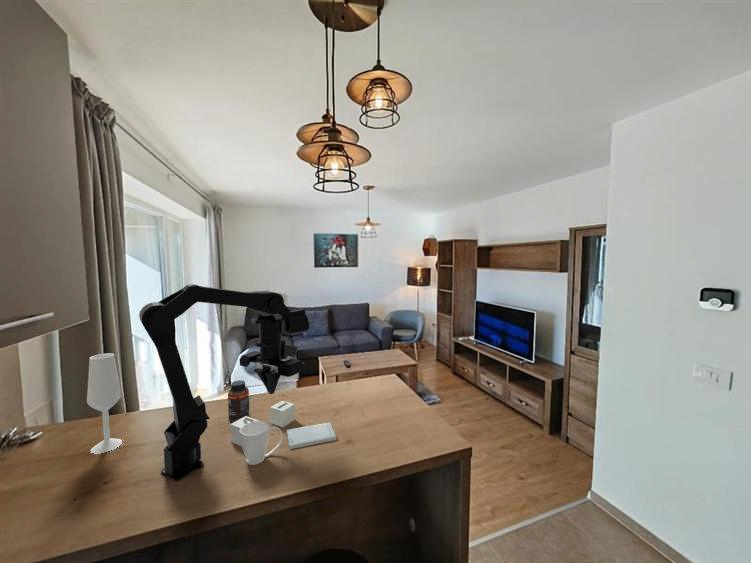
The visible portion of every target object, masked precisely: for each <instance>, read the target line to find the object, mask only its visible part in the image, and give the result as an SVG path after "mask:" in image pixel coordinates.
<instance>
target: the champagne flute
mask: <svg viewBox="0 0 751 563" xmlns="http://www.w3.org/2000/svg"><path fill="white" fill-rule="evenodd" d="M88 362H89V363H88V379H87V394H86V403H87V405H88V406H89V407H91V408H92V409H94V410H96V411H99V412H102V427H103V428H102V429H103V440H102V441H100V442H99V443H97V444H96V445H94V446H92V448H91V449H90V451H91V452H90V454H92V453H94V454H93V455H100V454H101V453H103V454H105V453H104V452H107V453H109V452H108V451H110V452H112V451H115V450H117V449H118V448H120V447H121V446H122V445H123V444H122V440H123V439H122V438H115V437H114V438H112V437H111V435H110V434H111V433H110V430H111V429H110V417H109V416H110V414H109V410H110V409H111V408H113V407H114V406H115V405H116V404H117V403H118V402H119V400H120V399H121V397H122V391H121V385H120V380H119V375H118V369H117V364H116V363H117V362H116V357H115V353H111V352H108V353H100V354H95V355H92V356H90V357H89V361H88ZM121 439H122V440H121ZM121 444H122V445H121ZM120 445H121V446H120ZM119 446H120V447H119ZM117 447H118V448H117ZM116 448H117V449H116ZM114 449H115V450H114ZM111 450H112V451H111ZM101 455H102V454H101Z"/></svg>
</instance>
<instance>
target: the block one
mask: <svg viewBox="0 0 751 563" xmlns="http://www.w3.org/2000/svg"><path fill="white" fill-rule="evenodd" d="M295 408H296V407H295V403H292V402H289V401H285V400H281V401H278V402H277V403H275V404H274V405H272V406H270V408H269V412H270V414H269V418H270V420H269V421H270V423H269V424H270V425H271V424H272V425H273V426H276V427H280V428H284V427H286V426H288V425H289V424H291V423H292V422H293V421H295V420H296V417H295V416H296V413H295V410H296V409H295Z"/></svg>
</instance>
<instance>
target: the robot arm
mask: <svg viewBox="0 0 751 563" xmlns="http://www.w3.org/2000/svg"><path fill="white" fill-rule="evenodd" d="M197 303H203V304H204V303H205V304H216V305H224V306H235V307H242V308H244V307H245V308H249V309H252V310H256V311H259V312H261V313H266V314H267V315H262V314H261V313H258V312H257V313H256V314H255V316H254V317H253V318H251V319H250V322H251V323H252V324H255V325H258V329H259V332H258V334H259V335H258V336H259V341H258V342H257V341H256V342H255V346H256V347H257V348H259V351H258V350H254V351H251V352H248V353H244V354H242V355H241V356H240V358H239V366H241V367H244V368H247V367H249V366H250V364H251V363H254V364H255V366H256V368H254V369H253V371H254V373H256V374H257V375H258V377H259V379H260V380H261V382H262V384H263V386H264V388H265V389H266V390H267V392H268V394H269V395H273V394H275V392H276V388H277V386H278V383H279V381H280V378H281V376H283V377H287V378H288V377H289V378H290V377H292V376H295V375H297V374H299V373H301V372H303V371H305V362H303V360H301V359H296V356H297V351H298V346H294V345H290V344H287V341H286V340H285V339H283V336H282V335H283V334H282V332H283V333H284V334H285V335H287V336H291V335H297V334H302V333H307V332H308V331H309V329H310V321H309V317H308V316H307V314H306V309H303V308H298V309H296V310H295V309H294V310H290V309H289V308H288V307H287V305H286V304H285V300H284V298H283V295H282V294H280V293H278V292H275V291H270V290H258V291H257V290H256V291H255V290H254V291H239V290H231V289H226V288H225V289H224V288H216V287H210V286H201V285H198V284H194V283H189V284H186V285H185V286H183V288H180V289H179V290H177V291H176V292H174V293H172V294H170V295H168V296H166V297H164V298H162V299H161V300H160V301H158V302H157V301H153V302H150V303H147V304H145V305H144V306H143V307H142V308H141V309H140V311H139V314H138V317H139V320H140V323H141V324H142V326H143V328H144V330H145V332H147V335H148V336H149V339H151V342H153V345H154V346H155V349H156V352H157V354H158V359H159V361H160V363H161V364H160V365H161V367H162V371H163V373H164V377H165V378H166V383H167V386H168V389H169V391H170V393H171V394H170V395H171V397H172V402H173V403H172V405H173V411H172V412H173V421H172V422H171V423H170V424H169V426H168V427H166V429H165V430H164V431H163V434H164V437H165V441H166V443H167V445H166V446H165V447H163V459H164V460H163V461H164V467H163V468H161V469H160V473H161V474H163V475H165V476H166V477H168V478H170V479H172V480H174V482H177V481H180V480H181V479H183V478H185V477H186V476H188V475H189V474H191V473H193V472H194V471H196V470H197V469H199V468H201V467H203V466H204V461H202V460H201V459H202V450H201V449H202V446H201V442H200V438H201V436H202V435H203V434H204V433H205V431H206V429H207V428H208V420H210V417H209V415H208V413H207V409H206V404H205V402H204V400H203V399H202V397H201V396H200V395H197V396H195V397H194V396H193V393H192V390H191V387H190V383H189V380H188V378H187V374H186V371H185V367H184V364H183V361H182V359H181V358H182V357H181V355H180V351H179V348H178V345H177V341H176V339H177V338H176V332H177V330H176V321H175V320H176V319H178V318H179V317H180V316H182V315H183V314H184V313H185V312H187V310H189V309H190V308H191V307H192V306H193V305H195V304H197ZM275 315H277V317H275ZM288 357H292V358H289V359H288Z"/></svg>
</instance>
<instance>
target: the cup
mask: <svg viewBox="0 0 751 563" xmlns="http://www.w3.org/2000/svg"><path fill="white" fill-rule="evenodd" d="M274 430H277V431H278V432H279V433H280V440H279V442H278V443H277V445H276V446H274V448H273V449H271V450H270V451H269V452H267V453H266V450H267V446H268V441H269V436H270V434H269V433H270V432H272V431H274ZM239 433H240V438H241V443H242V446H241V447H242V448H241V449H242V451H243V455H244V457H245V459H246V460H245V463H247V464H248V465H249V466H255V465H259V464H261V463H262V462H264V460H265V458H268V457H270V456H271V455H272V454H273V453H274V452H275V451H277V450H278V448H280V446H281V445H282V442H283V440H284V437H283V433H282V430H281V428H279V426H277V425H273V426H271V423H268V422H267V421H265V420H259V421H253V422H250V423H248V424H245V425H243V426H242V428H241V429H240V431H239Z"/></svg>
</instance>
